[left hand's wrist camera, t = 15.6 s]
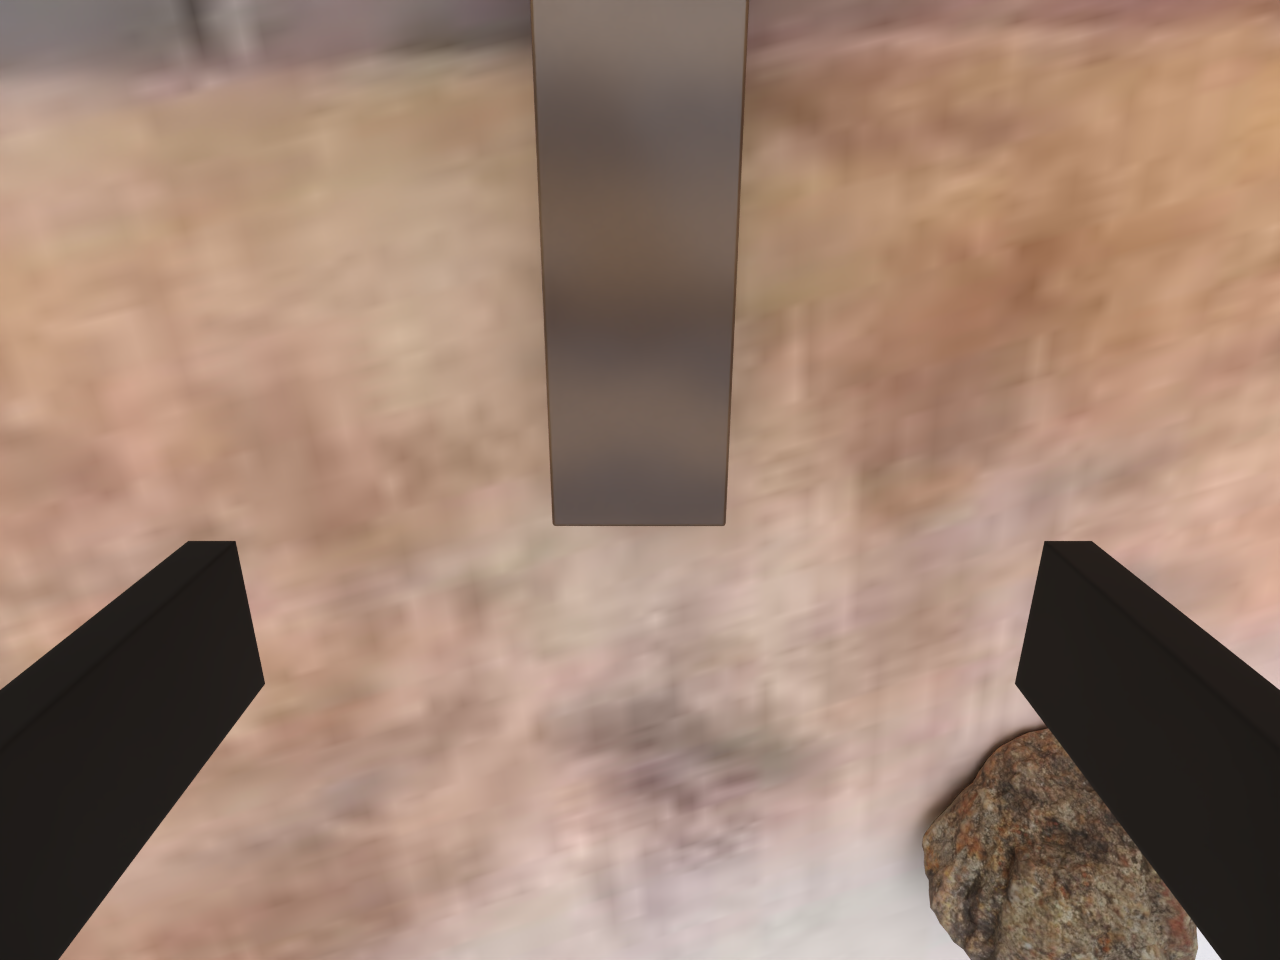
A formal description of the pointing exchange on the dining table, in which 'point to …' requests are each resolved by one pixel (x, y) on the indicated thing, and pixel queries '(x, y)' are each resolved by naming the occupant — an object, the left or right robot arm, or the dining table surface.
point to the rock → (1046, 868)
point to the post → (639, 252)
